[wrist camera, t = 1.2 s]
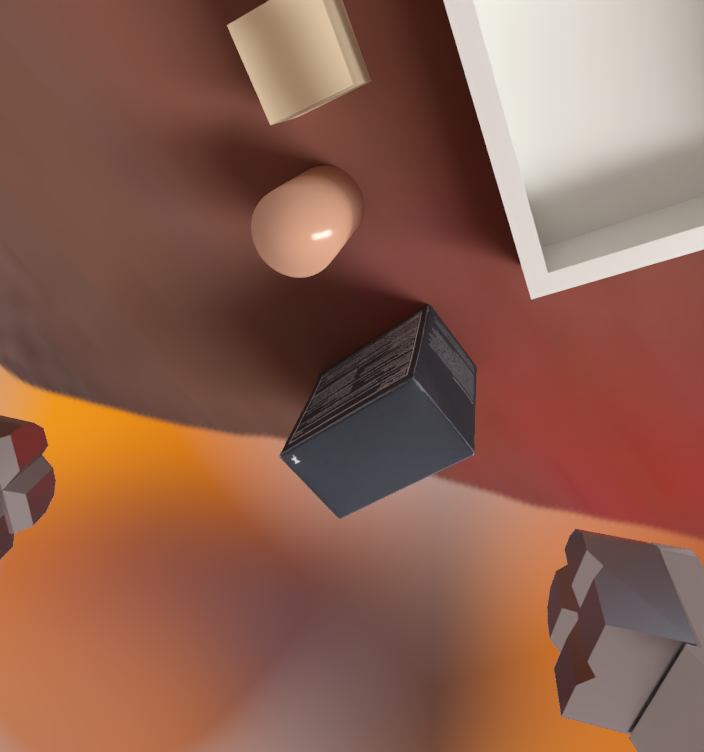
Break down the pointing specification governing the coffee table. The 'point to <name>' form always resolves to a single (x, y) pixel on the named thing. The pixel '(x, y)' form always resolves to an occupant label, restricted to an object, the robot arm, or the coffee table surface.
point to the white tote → (590, 129)
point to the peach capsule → (307, 221)
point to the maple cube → (299, 55)
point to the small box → (386, 416)
